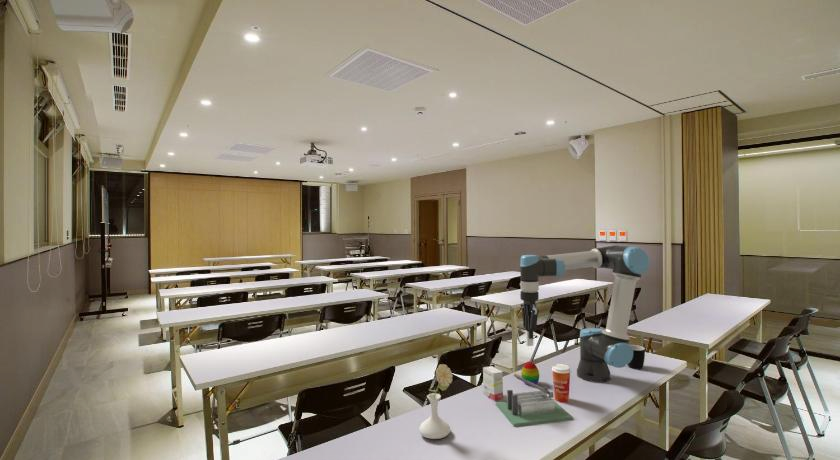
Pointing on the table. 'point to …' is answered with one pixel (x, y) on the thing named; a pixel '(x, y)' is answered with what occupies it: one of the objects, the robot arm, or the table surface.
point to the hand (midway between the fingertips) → (529, 345)
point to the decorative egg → (530, 373)
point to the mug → (637, 357)
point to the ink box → (493, 383)
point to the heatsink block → (535, 403)
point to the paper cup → (561, 382)
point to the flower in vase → (434, 424)
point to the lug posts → (512, 402)
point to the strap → (531, 383)
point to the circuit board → (519, 421)
